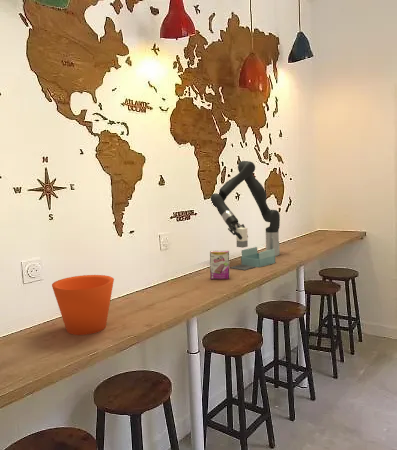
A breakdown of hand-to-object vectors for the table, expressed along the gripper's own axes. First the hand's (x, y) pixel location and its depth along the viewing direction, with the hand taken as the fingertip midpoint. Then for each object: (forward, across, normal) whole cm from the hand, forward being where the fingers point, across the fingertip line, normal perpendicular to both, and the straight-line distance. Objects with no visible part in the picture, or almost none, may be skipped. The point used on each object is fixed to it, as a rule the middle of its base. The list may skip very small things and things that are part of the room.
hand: (244, 238), depth 294 cm
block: (+3, 0, +5) cm, 6 cm away
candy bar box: (+18, -30, +9) cm, 36 cm away
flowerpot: (+29, -128, -1) cm, 131 cm away
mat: (+13, 0, +15) cm, 20 cm away
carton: (+13, +16, +15) cm, 25 cm away
